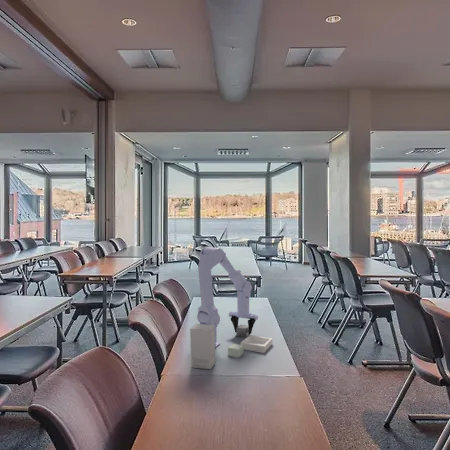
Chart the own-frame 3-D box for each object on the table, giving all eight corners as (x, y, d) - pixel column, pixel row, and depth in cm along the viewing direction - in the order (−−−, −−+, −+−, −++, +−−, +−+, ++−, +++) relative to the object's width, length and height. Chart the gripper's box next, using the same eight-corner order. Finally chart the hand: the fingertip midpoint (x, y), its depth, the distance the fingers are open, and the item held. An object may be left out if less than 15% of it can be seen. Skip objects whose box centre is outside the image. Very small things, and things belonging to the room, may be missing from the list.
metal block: (246, 338, 179) (246, 328, 178) (236, 336, 181) (236, 327, 180) (249, 335, 183) (249, 325, 183) (240, 333, 185) (240, 324, 185)
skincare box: (215, 363, 149) (215, 324, 148) (210, 370, 143) (210, 329, 142) (195, 361, 151) (195, 322, 151) (189, 367, 145) (189, 327, 144)
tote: (264, 353, 160) (264, 346, 160) (240, 348, 165) (240, 342, 164) (272, 344, 170) (272, 338, 170) (249, 340, 175) (249, 334, 174)
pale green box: (238, 357, 155) (238, 349, 155) (227, 355, 157) (227, 347, 157) (243, 353, 160) (243, 345, 160) (232, 351, 162) (232, 343, 162)
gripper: (260, 304, 182) (260, 332, 182) (232, 301, 188) (232, 328, 188) (255, 308, 175) (255, 336, 176) (227, 304, 181) (226, 332, 182)
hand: (243, 332), depth 182 cm, fingers open, 6 cm apart
